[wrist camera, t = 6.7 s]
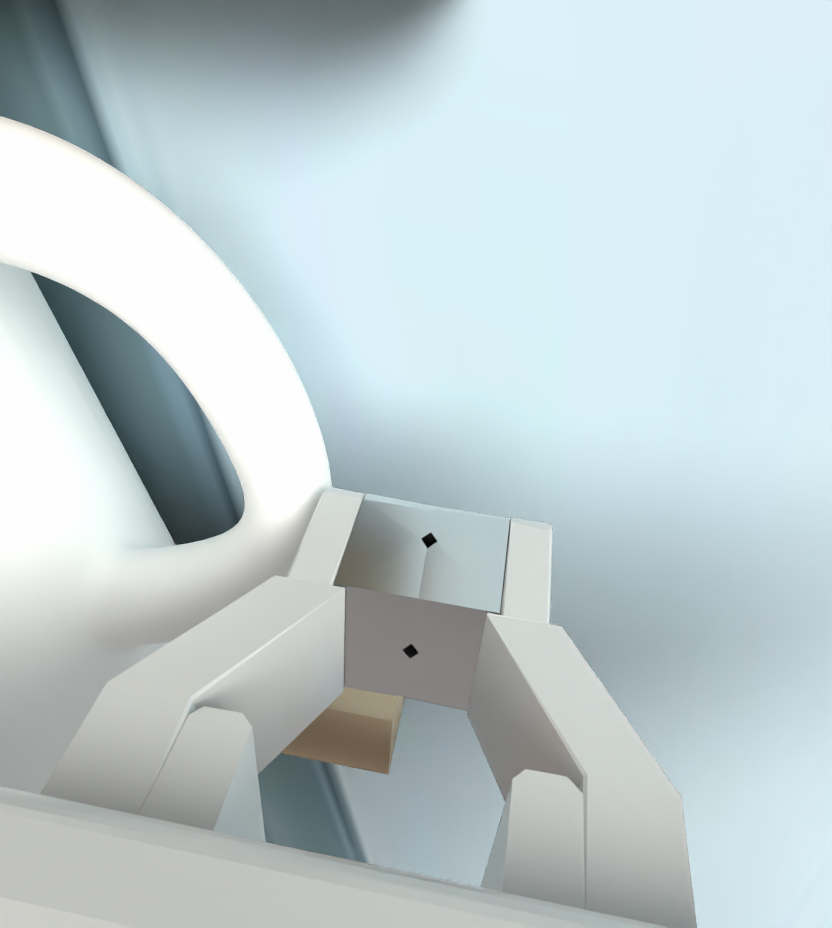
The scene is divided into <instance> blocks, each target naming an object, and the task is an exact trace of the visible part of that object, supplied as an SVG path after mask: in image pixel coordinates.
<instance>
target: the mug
mask: <svg viewBox="0 0 832 928" xmlns="http://www.w3.org/2000/svg"><path fill="white" fill-rule="evenodd" d="M30 271H31V272H34V273H36V274H39V275H42V276H44V277H47V278H49V279H52V280H54V281H56V282H59V283H61V284H63V285H65V286H67V287H69V288H71V289H73V290H75V291H77V292H79V293H81V294H83V295H85V296H86V297H88V298H90V299H92V300H93V301H95V302H97V303H98V304H100V305H101V306H103V307H104V308H106V309H108V310H109V311H111V312H112V313H113V314H115V315H116V316H117V317H119V318H120V319H121V320H123V321H124V322H125V323H127V324H128V325H129V326H130V327H132V328H133V329H134V330H135V331H136V332H137V333H139V334H140V335H141V336H142V337H143V338H144V339H145V340H146V341H147V342H148V343H149V344H150V345H151V346H152V347H154V348H155V349H156V351H157V352H158V353H159V354H160V355H161V356H162V357H163V358H164V359H165V360H166V361H167V363H168V364H169V365H170V366H171V367H172V368H173V370H174V371H175V372H176V373H177V375H178V376H179V377H180V378H181V380H182V381H183V382H184V384H185V385H186V386H187V388H188V389H189V390H190V392H191V393H192V395H193V396H194V398H195V399H196V401H197V402H198V404H199V405H200V407H201V408H202V410H203V412H204V413H205V415H206V416H207V418H208V420H209V421H210V423H211V424H212V426H213V428H214V430H215V431H216V433H217V435H218V437H219V438H220V440H221V442H222V444H223V446H224V448H225V449H226V451H227V453H228V455H229V457H230V459H231V461H232V463H233V465H234V468H235V470H236V472H237V475H238V477H239V480H240V483H241V486H242V490H243V493H244V500H245V507H244V513H243V516H242V518H241V520H240V521H239V522H238V523H237V524H236V525H235V526H234V527H233V528H231V529H230V530H228V531H227V532H225V533H223V534H220V535H218V536H215V537H212V538H208V539H205V540H201V541H196V542H192V543H187V544H180V545H175V543H174V541H173V539H172V537H171V535H170V533H169V532H168V530H167V528H166V526H165V524H164V522H163V520H162V518H161V517H160V515H159V513H158V511H157V509H156V507H155V505H154V503H153V501H152V500H151V498H150V496H149V494H148V492H147V490H146V488H145V486H144V485H143V483H142V481H141V479H140V477H139V475H138V473H137V471H136V469H135V468H134V466H133V464H132V462H131V460H130V458H129V456H128V454H127V453H126V451H125V449H124V447H123V445H122V443H121V441H120V439H119V437H118V436H117V434H116V432H115V430H114V428H113V426H112V424H111V422H110V421H109V419H108V417H107V415H106V413H105V411H104V409H103V407H102V405H101V404H100V402H99V400H98V398H97V396H96V394H95V392H94V390H93V389H92V387H91V385H90V383H89V381H88V379H87V377H86V375H85V373H84V372H83V370H82V368H81V366H80V364H79V362H78V360H77V358H76V357H75V355H74V353H73V351H72V349H71V347H70V345H69V343H68V341H67V340H66V338H65V336H64V334H63V332H62V330H61V328H60V326H59V325H58V323H57V321H56V319H55V317H54V315H53V313H52V311H51V309H50V308H49V306H48V304H47V302H46V300H45V298H44V296H43V294H42V293H41V291H40V289H39V287H38V285H37V283H36V281H35V279H34V277H33V276H32V274H31V272H30ZM328 487H332V483H331V475H330V469H329V462H328V457H327V453H326V449H325V445H324V441H323V437H322V434H321V431H320V428H319V425H318V422H317V419H316V416H315V413H314V410H313V408H312V405H311V403H310V400H309V398H308V396H307V393H306V391H305V388H304V386H303V384H302V382H301V380H300V378H299V376H298V374H297V372H296V370H295V367H294V365H293V363H292V362H291V360H290V358H289V356H288V354H287V353H286V351H285V349H284V347H283V345H282V344H281V342H280V340H279V338H278V337H277V335H276V333H275V332H274V330H273V329H272V327H271V326H270V324H269V322H268V321H267V319H266V318H265V316H264V315H263V313H262V312H261V310H260V309H259V307H258V306H257V305H256V303H255V302H254V301H253V299H252V298H251V296H250V295H249V294H248V292H247V291H246V290H245V288H244V287H243V286H242V284H241V283H240V282H239V281H238V279H237V278H236V277H235V276H234V274H233V273H232V272H231V271H230V270H229V268H228V267H227V266H226V265H225V264H224V263H223V261H222V260H221V259H220V258H219V257H218V256H217V255H216V254H215V252H214V251H213V250H212V249H211V248H210V247H209V246H208V245H207V244H206V243H205V242H204V241H203V240H202V239H201V238H200V237H199V236H198V235H197V234H196V233H195V232H194V231H193V230H192V229H191V228H190V227H189V226H188V225H187V224H186V223H185V222H184V221H183V220H182V219H180V218H179V217H178V216H177V215H176V214H175V213H174V212H173V211H171V210H170V209H169V208H168V207H167V206H165V205H164V204H163V203H162V202H161V201H159V200H158V199H157V198H156V197H154V196H153V195H152V194H151V193H149V192H148V191H147V190H146V189H144V188H143V187H142V186H140V185H139V184H137V183H136V182H135V181H133V180H132V179H130V178H129V177H127V176H126V175H124V174H123V173H121V172H120V171H118V170H117V169H115V168H114V167H112V166H111V165H109V164H107V163H106V162H104V161H102V160H101V159H99V158H98V157H96V156H94V155H92V154H90V153H89V152H87V151H85V150H83V149H81V148H79V147H77V146H75V145H73V144H71V143H69V142H67V141H65V140H63V139H61V138H59V137H56V136H54V135H52V134H49V133H47V132H45V131H42V130H40V129H37V128H34V127H32V126H29V125H27V124H24V123H21V122H18V121H15V120H12V119H9V118H5V117H1V116H0V786H3V787H8V788H12V789H17V790H22V791H27V792H31V793H36V794H40V793H41V791H42V790H43V788H44V786H45V785H46V783H47V781H48V780H49V778H50V776H51V775H52V773H53V771H54V770H55V768H56V766H57V765H58V763H59V761H60V760H61V758H62V756H63V755H64V753H65V751H66V750H67V748H68V746H69V745H70V743H71V741H72V740H73V738H74V736H75V735H76V733H77V731H78V730H79V728H80V726H81V725H82V723H83V721H84V720H85V718H86V716H87V715H88V713H89V711H90V710H91V708H92V706H93V705H94V703H95V701H96V700H97V698H98V696H99V695H100V693H101V691H102V690H103V688H104V686H105V685H106V683H107V682H109V681H110V680H112V679H113V678H115V677H116V676H118V675H119V674H121V673H123V672H124V671H126V670H127V669H129V668H130V667H132V666H134V665H135V664H137V663H138V662H140V661H141V660H143V659H145V658H146V657H148V656H149V655H151V654H152V653H154V652H155V651H157V650H159V649H160V648H162V647H163V646H165V645H166V644H168V643H170V642H171V641H173V640H174V639H176V638H177V637H179V636H180V635H182V634H184V633H185V632H187V631H188V630H190V629H191V628H193V627H195V626H196V625H198V624H199V623H201V622H202V621H204V620H206V619H207V618H209V617H210V616H212V615H213V614H215V613H216V612H218V611H220V610H221V609H223V608H224V607H226V606H227V605H229V604H231V603H232V602H234V601H235V600H237V599H238V598H240V597H242V596H243V595H245V594H246V593H248V592H249V591H251V590H252V589H254V588H256V587H257V586H259V585H260V584H262V583H263V582H265V581H267V580H268V579H270V578H271V577H273V576H274V575H276V576H283V577H287V575H288V572H289V570H290V567H291V565H292V563H293V560H294V558H295V556H296V553H297V551H298V549H299V546H300V544H301V542H302V539H303V537H304V534H305V532H306V530H307V527H308V525H309V523H310V520H311V518H312V516H313V513H314V511H315V508H316V506H317V504H318V501H319V499H320V497H321V494H322V493H323V492H324V491H325V490H326V489H327V488H328Z"/></svg>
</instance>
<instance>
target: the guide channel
mask: <svg viewBox="0 0 832 928" xmlns="http://www.w3.org/2000/svg"><path fill="white" fill-rule="evenodd" d="M404 698H405V697H401V696H394V695H388V694H382V693H376V692H370V691H364V690H357V689H351V688H345V687H344V688H343V692H342V693H341V694H340V695H339V696H338V697H337V698H336V699H335V700H334V701H333V702H332V703H331V704H330V705H329V706H328V707H327V708H326V709H325V710H324V711H323V712H322V713H321V714H320V715H319V716H318V717H317V718H316V719H315V720H314V721H313V722H312V723H311V724H309V725H308V726H307V727H306V728H305V729H304V730H303V731H302V732H301V733H300V734H299V735H298V736H297V737H296V738H295V739H294V740H293V741H292V742H291V743H290V744H289V745H288V746H287V747H286V748H285V749H284V750H283V751H282V752H281V753H283V754H288V755H293V756H298V757H303V758H308V759H313V760H318V761H323V762H328V763H333V764H338V765H343V766H348V767H353V768H358V769H363V770H368V771H374V772H379V773H384V774H388V773H389V769H390V764H391V759H392V755H393V750H394V745H395V741H396V736H397V731H398V726H399V722H400V717H401V712H402V708H403V703H404Z"/></svg>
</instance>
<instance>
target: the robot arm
mask: <svg viewBox="0 0 832 928" xmlns="http://www.w3.org/2000/svg"><path fill="white" fill-rule="evenodd" d="M552 530H553V529H552V527H551V525H550V523H545V522H538V521H532V520H525V519H518V518H510V519H509V518H507V517H501V516H494V515H488V514H482V513H475V512H469V511H463V510H456V509H450V508H444V507H438V506H432V505H427V504H422V503H416V502H411V501H406V500H401V499H395V498H390V497H385V496H379V495H374V494H369V493H367V494H364V493H359V492H354V491H349V490H344V489H339V488H333V487H328V488H327V489H326V490H325V491H324V492H323V493H322V494H321V497H320V499H319V501H318V504H317V506H316V508H315V511H314V513H313V516H312V518H311V520H310V523H309V525H308V527H307V530H306V532H305V534H304V537H303V539H302V542H301V544H300V546H299V549H298V551H297V553H296V556H295V558H294V560H293V563H292V565H291V567H290V570H289V572H288V575H287V577H283V576H276V575H274V576H273V577H271V578H270V579H268V580H267V581H265V582H263V583H262V584H260V585H259V586H257V587H256V588H254V589H252V590H251V591H249V592H248V593H246V594H245V595H243V596H242V597H240V598H238V599H237V600H235V601H234V602H232V603H231V604H229V605H227V606H226V607H224V608H223V609H221V610H220V611H218V612H216V613H215V614H213V615H212V616H210V617H209V618H207V619H206V620H204V621H202V622H201V623H199V624H198V625H196V626H195V627H193V628H191V629H190V630H188V631H187V632H185V633H184V634H182V635H180V636H179V637H177V638H176V639H174V640H173V641H171V642H170V643H168V644H166V645H165V646H163V647H162V648H160V649H159V650H157V651H155V652H154V653H152V654H151V655H149V656H148V657H146V658H145V659H143V660H141V661H140V662H138V663H137V664H135V665H134V666H132V667H130V668H129V669H127V670H126V671H124V672H123V673H121V674H119V675H118V676H116V677H115V678H113V679H112V680H110V681H109V682H107V683H106V685H105V686H104V688H103V690H102V691H101V693H100V695H99V696H98V698H97V700H96V701H95V703H94V705H93V706H92V708H91V710H90V711H89V713H88V715H87V716H86V718H85V720H84V721H83V723H82V725H81V726H80V728H79V730H78V731H77V733H76V735H75V736H74V738H73V740H72V741H71V743H70V745H69V746H68V748H67V750H66V751H65V753H64V755H63V756H62V758H61V760H60V761H59V763H58V765H57V766H56V768H55V770H54V771H53V773H52V775H51V776H50V778H49V780H48V781H47V783H46V785H45V786H44V788H43V790H42V791H41V793H40V794H36V793H31V792H27V791H22V790H17V789H12V788H8V787H3V786H0V928H697V924H696V916H695V907H694V899H693V890H692V882H691V873H690V865H689V856H688V848H687V839H686V831H685V822H684V814H683V805H682V797H681V795H680V794H679V792H678V791H677V790H676V788H675V787H674V785H673V784H672V782H671V781H670V780H669V778H668V777H667V775H666V774H665V773H664V771H663V770H662V768H661V767H660V765H659V764H658V763H657V761H656V760H655V758H654V757H653V755H652V754H651V753H650V751H649V750H648V748H647V747H646V745H645V744H644V743H643V741H642V740H641V738H640V737H639V735H638V734H637V733H636V731H635V730H634V728H633V727H632V726H631V724H630V723H629V721H628V720H627V718H626V717H625V716H624V714H623V713H622V711H621V710H620V708H619V707H618V706H617V704H616V703H615V701H614V700H613V698H612V697H611V696H610V694H609V693H608V691H607V690H606V688H605V687H604V686H603V684H602V683H601V681H600V680H599V679H598V677H597V676H596V674H595V673H594V671H593V670H592V669H591V667H590V666H589V664H588V663H587V661H586V660H585V659H584V657H583V656H582V654H581V653H580V651H579V650H578V649H577V647H576V646H575V644H574V643H573V641H572V640H571V639H570V637H569V636H568V634H567V633H566V632H565V630H564V629H563V627H562V626H558V625H553V624H549V623H550V592H551V561H552ZM344 687H345V688H351V689H357V690H364V691H370V692H376V693H382V694H388V695H394V696H401V697H406V698H411V699H416V700H420V701H425V702H429V703H434V704H439V705H443V706H448V707H452V708H457V709H462V710H466V711H468V713H467V715H468V717H469V719H470V721H471V724H472V726H473V728H474V731H475V733H476V735H477V738H478V740H479V742H480V745H481V747H482V749H483V751H484V754H485V756H486V758H487V761H488V763H489V765H490V768H491V770H492V772H493V775H494V777H495V779H496V782H497V784H498V786H499V788H500V791H501V793H502V795H503V798H504V800H505V802H506V803H505V806H504V810H503V813H502V816H501V820H500V823H499V826H498V830H497V833H496V836H495V840H494V843H493V847H492V850H491V853H490V857H489V860H488V863H487V867H486V870H485V873H484V877H483V880H482V884H481V887H477V886H472V885H467V884H463V883H458V882H453V881H448V880H444V879H439V878H434V877H430V876H425V875H420V874H415V873H411V872H406V871H401V870H396V869H392V868H387V867H382V866H377V865H373V864H368V863H363V862H358V861H354V860H349V859H344V858H340V857H335V856H330V855H325V854H321V853H316V852H311V851H306V850H302V849H297V848H292V847H287V846H283V845H278V844H273V843H268V842H266V841H265V833H264V824H263V815H262V807H261V798H260V790H259V781H258V774H259V773H260V772H261V771H262V770H263V769H264V768H265V767H266V766H267V765H268V764H269V763H270V762H271V761H272V760H273V759H275V758H276V757H277V756H278V755H279V754H280V753H281V752H282V751H283V750H284V749H285V748H286V747H287V746H288V745H289V744H290V743H291V742H292V741H293V740H294V739H295V738H296V737H297V736H298V735H299V734H300V733H301V732H302V731H303V730H304V729H305V728H306V727H307V726H308V725H309V724H311V723H312V722H313V721H314V720H315V719H316V718H317V717H318V716H319V715H320V714H321V713H322V712H323V711H324V710H325V709H326V708H327V707H328V706H329V705H330V704H331V703H332V702H333V701H334V700H335V699H336V698H337V697H338V696H339V695H340V694H341V693H342V692H343V688H344Z"/></svg>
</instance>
